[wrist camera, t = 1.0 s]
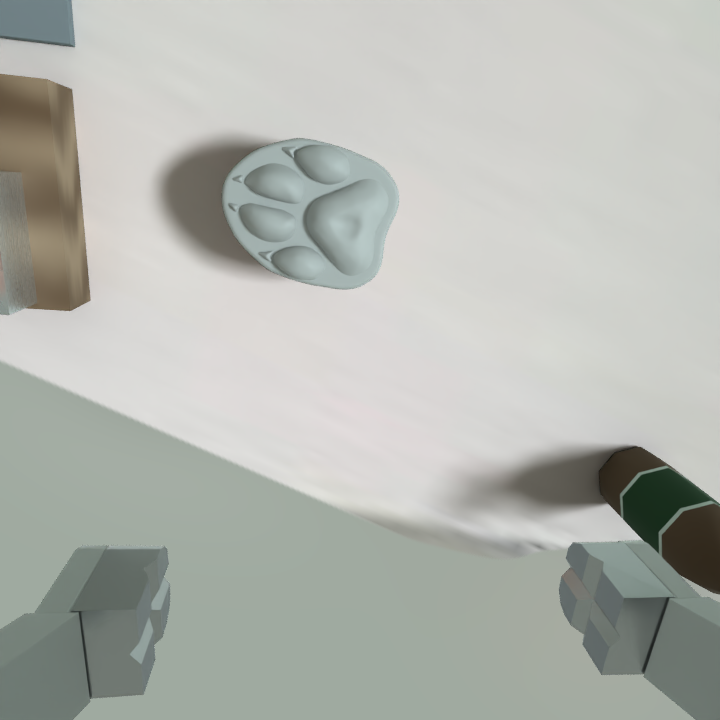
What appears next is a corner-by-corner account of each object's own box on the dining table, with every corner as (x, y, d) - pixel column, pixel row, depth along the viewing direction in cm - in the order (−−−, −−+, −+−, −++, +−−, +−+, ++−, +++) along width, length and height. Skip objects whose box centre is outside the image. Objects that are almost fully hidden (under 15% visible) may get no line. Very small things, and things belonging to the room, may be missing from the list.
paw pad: (362, 284, 47) (373, 305, 39) (223, 247, 44) (204, 261, 36) (394, 171, 44) (414, 167, 36) (247, 125, 41) (232, 110, 33)
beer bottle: (669, 478, 58) (902, 666, 35) (611, 514, 59) (802, 719, 36) (644, 431, 55) (876, 600, 33) (583, 469, 56) (769, 659, 34)
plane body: (-67, 74, 38) (-108, 61, 34) (72, 89, 39) (47, 79, 35) (-31, 292, 43) (-63, 302, 40) (90, 300, 45) (70, 310, 41)
